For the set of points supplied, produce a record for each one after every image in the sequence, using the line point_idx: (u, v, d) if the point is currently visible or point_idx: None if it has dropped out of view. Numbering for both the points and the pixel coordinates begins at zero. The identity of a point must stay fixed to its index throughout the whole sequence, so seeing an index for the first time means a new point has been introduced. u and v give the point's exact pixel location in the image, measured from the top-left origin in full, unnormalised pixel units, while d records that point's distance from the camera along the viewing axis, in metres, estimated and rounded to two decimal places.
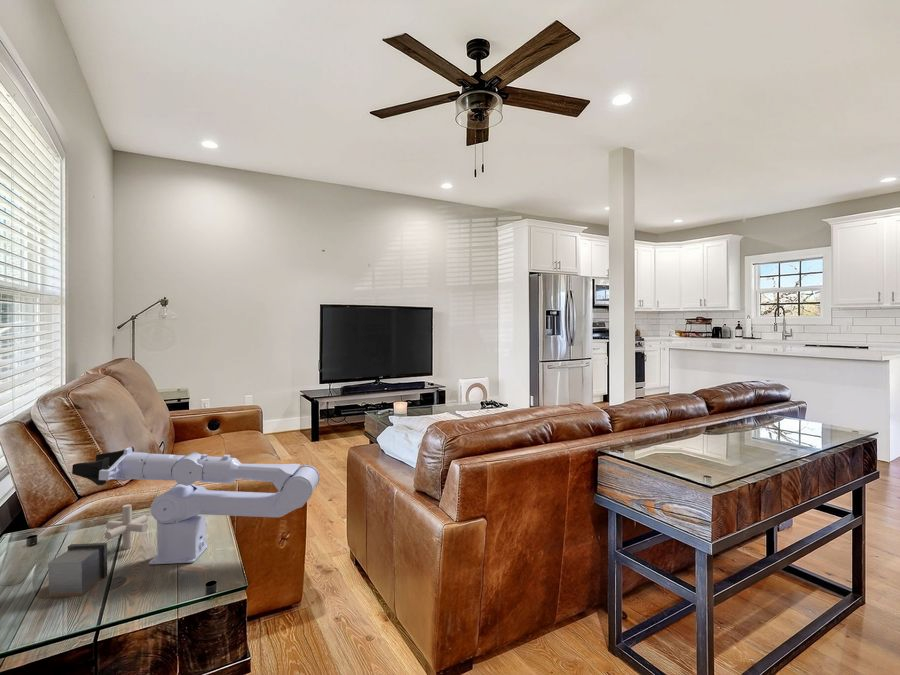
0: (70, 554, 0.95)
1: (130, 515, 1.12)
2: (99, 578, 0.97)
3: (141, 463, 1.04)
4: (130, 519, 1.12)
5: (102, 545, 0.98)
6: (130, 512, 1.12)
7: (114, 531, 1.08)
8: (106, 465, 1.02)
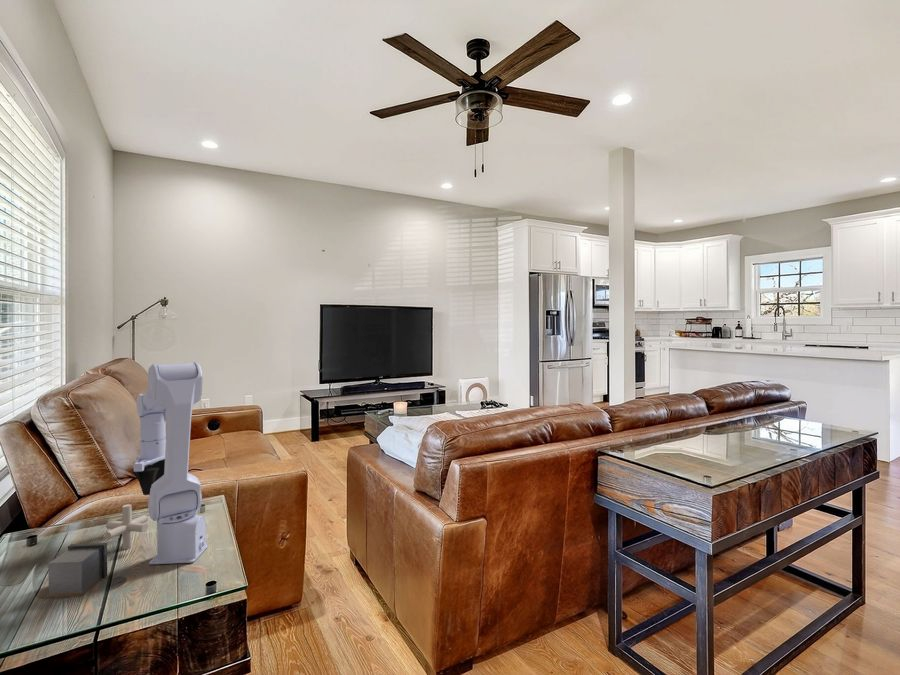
0: (70, 554, 0.95)
1: (130, 515, 1.12)
2: (99, 578, 0.97)
3: (142, 443, 1.21)
4: (130, 519, 1.12)
5: (102, 545, 0.98)
6: (130, 512, 1.12)
7: (114, 531, 1.08)
8: None
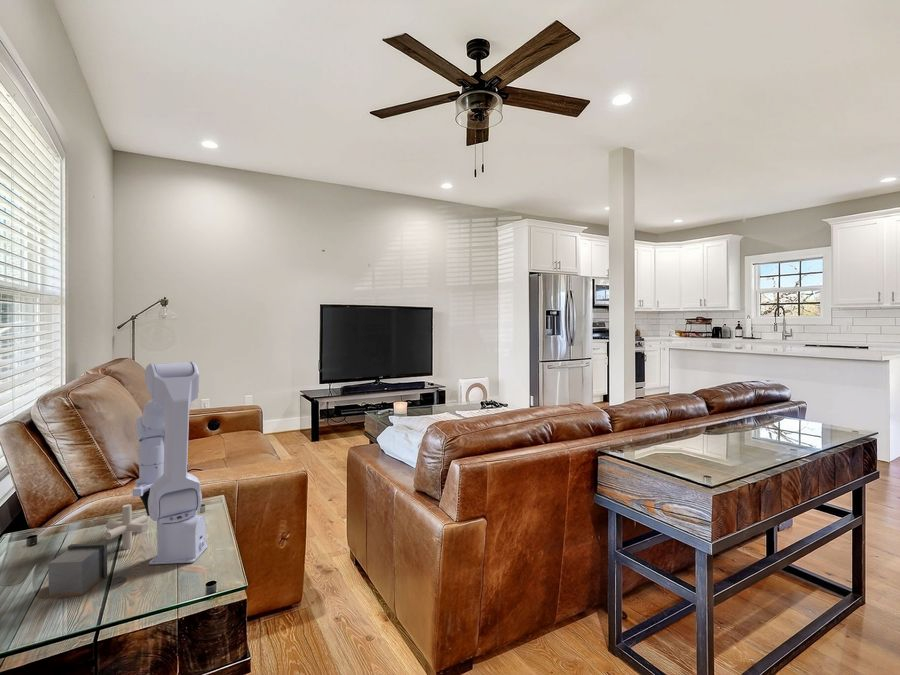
0: (70, 554, 0.95)
1: (130, 515, 1.12)
2: (99, 578, 0.97)
3: (141, 467, 1.21)
4: (130, 519, 1.12)
5: (102, 545, 0.98)
6: (130, 512, 1.12)
7: (114, 531, 1.08)
8: None
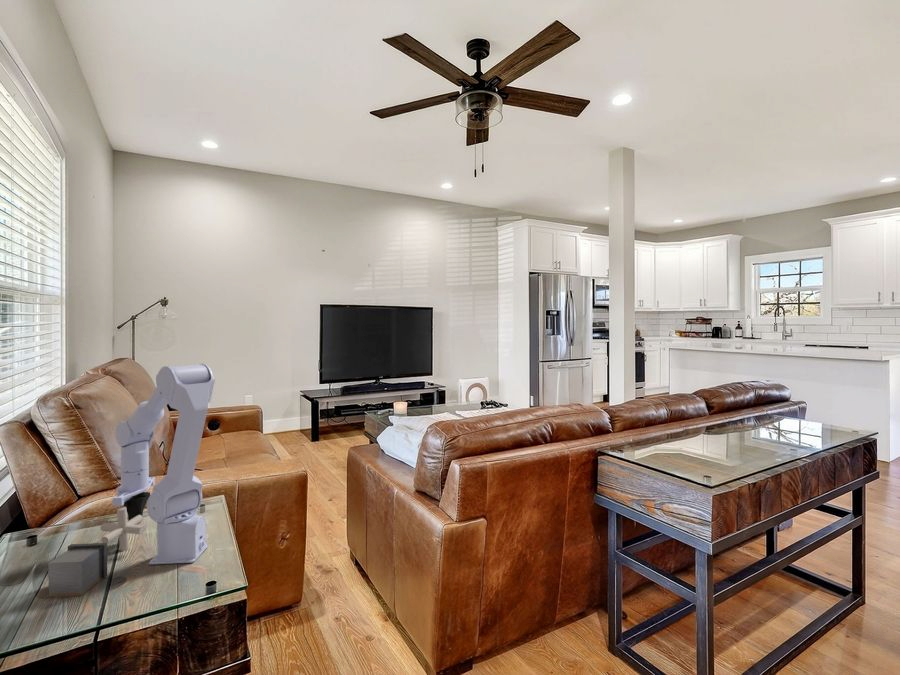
0: (70, 554, 0.95)
1: (126, 518, 1.10)
2: (99, 578, 0.97)
3: (122, 474, 1.13)
4: (126, 521, 1.10)
5: (102, 545, 0.98)
6: (125, 515, 1.10)
7: (111, 535, 1.07)
8: None
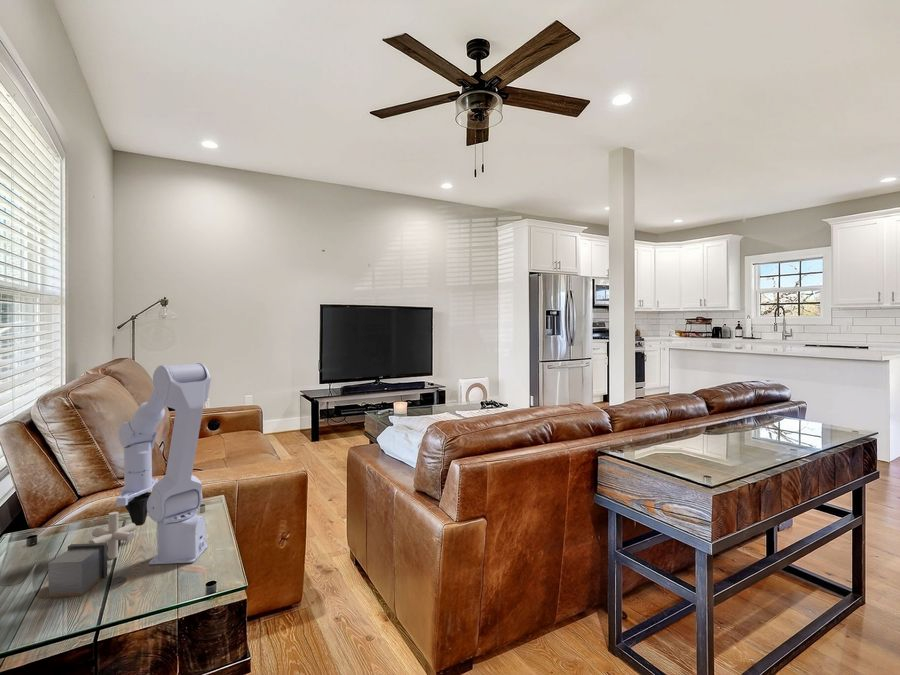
0: (70, 554, 0.95)
1: (117, 523, 1.07)
2: (99, 578, 0.97)
3: (126, 474, 1.14)
4: (116, 527, 1.07)
5: (102, 545, 0.98)
6: (117, 520, 1.07)
7: (98, 539, 1.03)
8: None
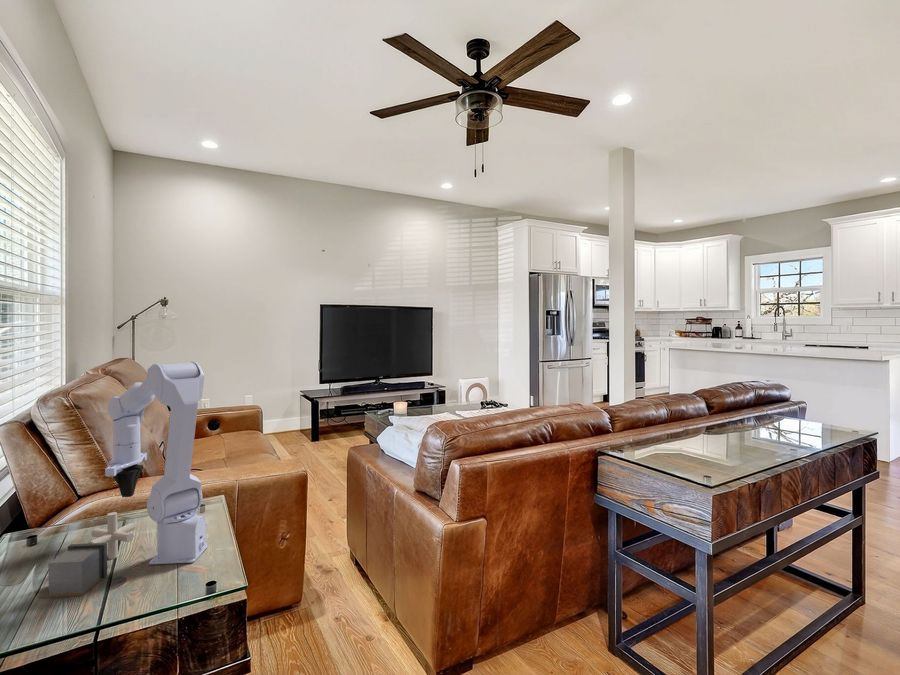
0: (70, 554, 0.95)
1: (115, 523, 1.07)
2: (99, 578, 0.97)
3: (115, 447, 1.17)
4: (115, 528, 1.07)
5: (102, 545, 0.98)
6: (115, 520, 1.07)
7: (97, 540, 1.03)
8: None
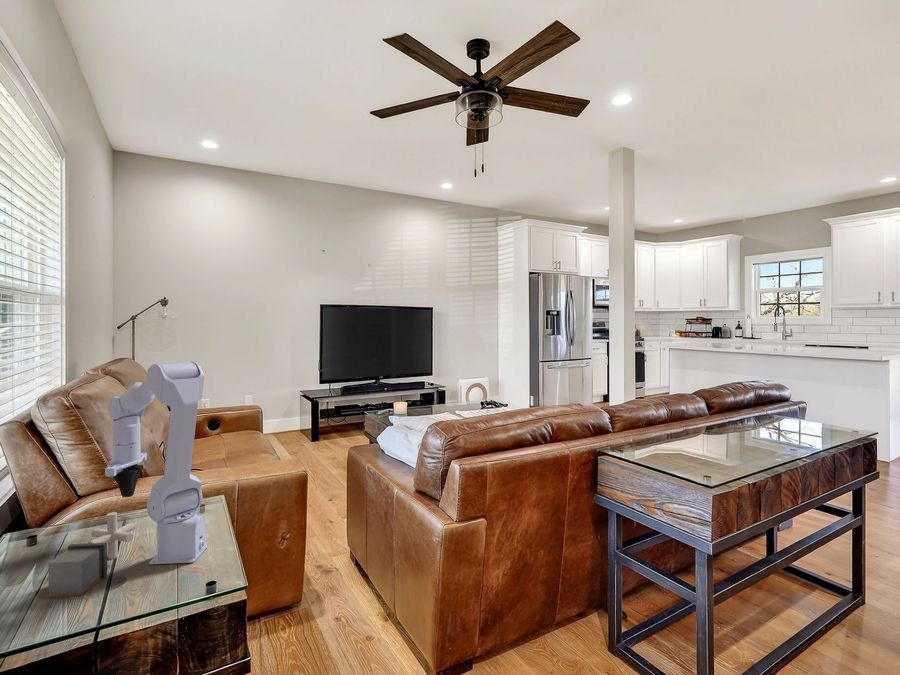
0: (70, 554, 0.95)
1: (115, 523, 1.07)
2: (99, 578, 0.97)
3: (115, 447, 1.17)
4: (115, 528, 1.07)
5: (102, 545, 0.98)
6: (115, 520, 1.07)
7: (97, 540, 1.03)
8: None
